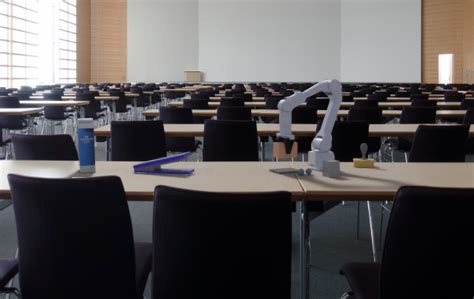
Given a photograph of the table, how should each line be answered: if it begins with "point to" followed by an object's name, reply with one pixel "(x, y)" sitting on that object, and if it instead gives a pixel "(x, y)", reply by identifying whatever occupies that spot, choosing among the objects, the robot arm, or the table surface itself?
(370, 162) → the rubber stamp
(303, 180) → the table surface
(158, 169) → the stapler
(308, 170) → the marble
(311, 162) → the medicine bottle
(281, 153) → the salmon rectangular prism
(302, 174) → the marble
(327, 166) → the grey rectangular block
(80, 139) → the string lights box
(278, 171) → the charcoal mat
